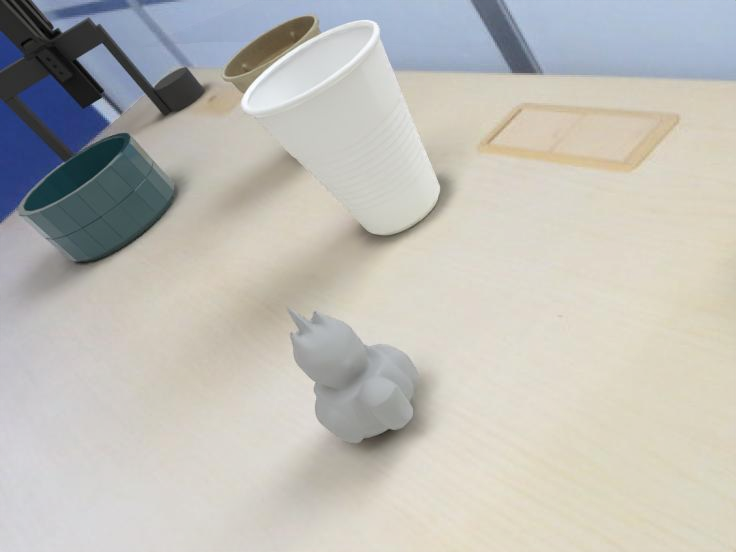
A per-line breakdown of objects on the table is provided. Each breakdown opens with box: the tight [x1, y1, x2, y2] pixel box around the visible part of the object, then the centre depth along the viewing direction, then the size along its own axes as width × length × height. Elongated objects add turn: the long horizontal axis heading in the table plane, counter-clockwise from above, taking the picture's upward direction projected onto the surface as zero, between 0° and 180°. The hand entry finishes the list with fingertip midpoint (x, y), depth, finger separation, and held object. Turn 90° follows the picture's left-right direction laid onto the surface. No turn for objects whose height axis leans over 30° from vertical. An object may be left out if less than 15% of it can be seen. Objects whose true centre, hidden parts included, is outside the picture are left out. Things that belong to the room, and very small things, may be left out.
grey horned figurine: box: [285, 305, 420, 444], centre depth 37 cm, size 5×7×8 cm
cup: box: [240, 19, 441, 236], centre depth 50 cm, size 10×10×11 cm
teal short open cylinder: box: [16, 132, 175, 263], centre depth 73 cm, size 12×12×6 cm
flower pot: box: [220, 13, 322, 95], centre depth 65 cm, size 9×9×9 cm
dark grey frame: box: [0, 17, 206, 162], centre depth 91 cm, size 20×5×12 cm, turn 114°
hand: (93, 99), depth 92 cm, fingers closed
